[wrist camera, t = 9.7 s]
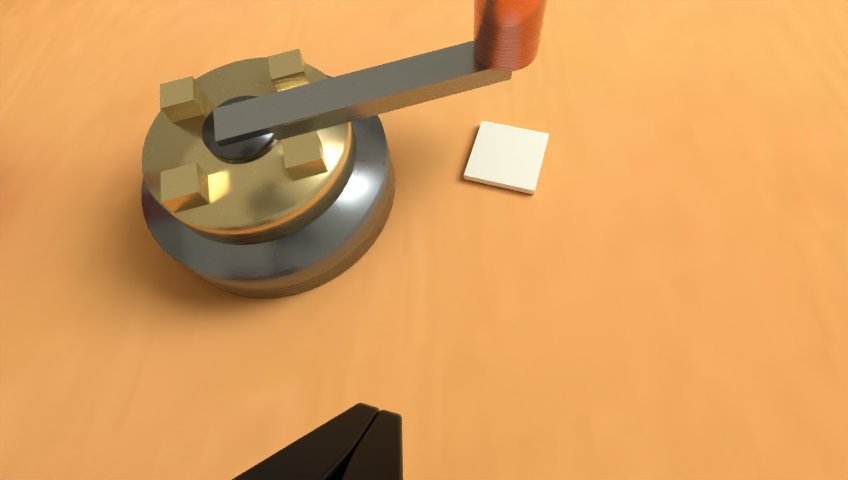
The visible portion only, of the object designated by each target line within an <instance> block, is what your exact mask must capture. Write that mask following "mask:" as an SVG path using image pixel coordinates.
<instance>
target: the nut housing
mask: <svg viewBox="0 0 848 480" xmlns="http://www.w3.org/2000/svg"><path fill="white" fill-rule="evenodd" d="M326 76H327V77H328V78H333V77H330V76H328V75H326ZM351 122H352V125H353V128H354V131H355V136H356V142H357V155H356V161H355V166H354V169H353V172H352V175H351V177H350V179H349V181H348V183H347V185H346V187H345V189H344V190H343V192H342V193H341V195H340V196H339V197H338V199H337V200H336V201H335V202H334V203H333V205H332V206H331V207H330V208H329V209H328V210H327V211H326V212H324V213H323V214H322V215H321V216H320V217H319V218H317V219H316V220H315V221H313V222H312V223H311V224H309V225H307V226H306V227H304V228H302V229H301V230H299V231H297V232H295V233H292V234H290V235H288V236H286V237H283V238H280V239H277V240H274V241H270V242H265V243H261V244H253V245H230V244H223V243H218V242H215V241H211V240H208V239H206V238H204V237H202V236H200V235H197V234H196V233H195V232H193V231H192V230H190V229H189V228H187V227H186V226H185V225H184V224H183V223H181V222H180V221H179V220H178V219H177V218H176V217H174V216H173V215H172V214H171V213H170V212H168V211H167V210H166V209H165V208H164V207H163V206H162V205H161V204H160V203H159V202H158V201H156V199H155V198H154V197H153V195H152V194H151V192H150V191H149V189H148V186H147V184H146V182H145V179H144V178H143V184H142V207H143V213H144V217H145V220H146V223H147V225H148V228H149V230H150V232H151V233H152V235H153V237H154V239H155V240H156V241H157V242H158V244H159V245H160V246H161V247H162V248H163V250H165V251H166V252H167V253H168V254H169V255H171V256H172V257H173V258H174V259H175V260H177V261H178V262H180V263H181V264H183V265H184V266H185V267H187V268H188V269H190V270H191V271H193V272H194V273H196V274H197V275H198V276H200V277H201V278H203V279H204V280H206V281H207V282H209V283H211V284H212V285H214V286H216V287H217V288H219V289H222V290H224V291H227V292H229V293H232V294H236V295H241V296H245V297H255V298H277V297H283V296H289V295H295V294H298V293H301V292H305V291H308V290H311V289H313V288H316V287H318V286H320V285H323V284H325V283H327V282H328V281H330V280H332V279H334V278H335V277H337V276H339V275H340V274H342V273H343V272H344V271H346V270H347V269H349V268H350V267H351V266H353V265H354V264H355V263H356V262H357V261H358V260H359V259H360V258H361V257H362V256H363V255H364V254H365V253H366V252H367V251H368V249H369V248H370V247H371V246H372V245H373V244H374V242H375V241H376V239H377V238H378V236H379V234H380V233H381V231H382V230H383V227H384V225H385V223H386V221H387V219H388V217H389V214H390V210H391V207H392V204H393V198H394V192H395V178H394V170H393V165H392V161H391V157H390V153H389V149H388V145H387V141H386V137H385V133H384V130H383V126H382V123H381V121H380V119H379V117H378V115H374V116H370V117H366V118H363V119H359V120H355V121H351Z"/></svg>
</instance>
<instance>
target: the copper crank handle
mask: <svg viewBox="0 0 848 480" xmlns="http://www.w3.org/2000/svg"><path fill="white" fill-rule="evenodd" d="M546 1H547V0H475V2H474V41H471V42H467V43H463V44H459V45H455V46H452V47H448V48H444V49H440V50H436V51H432V52H429V53H425V54H421V55H417V56H413V57H409V58H406V59H402V60H398V61H394V62H390V63H386V64H383V65H379V66H375V67H371V68H367V69H363V70H360V71H356V72H352V73H348V74H344V75H340V76H337V77H333V78H328V77H327V76H326V75H325V74H324V73H322V72H321V71H319V70H318V69H316V68H314V67H312V66H310V65H308V64H305V62H304V60H303V57H302V55H301V52H300V50H299V49H296V50H292V51H288V52H284V53H280V54H277V55H273V56H269V57H265V58H253V59H246V60H242V61H237V62H234V63H230V64H227V65H224V66H222V67H219V68H217V69H214V70H212V71H210V72H208V73H206V74H204V75H202V76H200V77H199V78H197V79H194V78H193V77H192V76H191V77H187V78H183V79H179V80H176V81H172V82H168V83H164V84H160V109H161V111H160V113H159V114H158V115H157V117H156V118H155V120H154V122H153V124H152V125H151V127H150V129H149V132H148V134H147V137H146V139H145V143H144V147H143V154H142V170H143V175H144V179H145V182H146V184H147V186H148V189H149V191H150V192H151V194H152V195H153V197H154V198H155V199H156V201H158V202H159V203H160V204H161V205H162V206H163V207H164V208H165V209H166V210H167V211H168V212H170V213H171V214H172V215H173V216H174V217H176V218H177V219H178V220H179V221H180V222H181V223H183V224H184V225H185V226H186V227H187V228H189V229H190V230H192V231H193V232H195V233H196V234H197V235H200V236H202V237H204V238H206V239H208V240H211V241H215V242H218V243H223V244H230V245H253V244H261V243H265V242H270V241H274V240H277V239H280V238H283V237H286V236H288V235H290V234H292V233H295V232H297V231H299V230H301V229H302V228H304V227H306V226H307V225H309V224H311V223H312V222H313V221H315V220H316V219H317V218H319V217H320V216H321V215H322V214H323V213H324V212H326V211H327V210H328V209H329V208H330V207H331V206H332V205H333V203H334V202H335V201H336V200H337V199H338V197H339V196H340V195H341V193H342V192H343V190H344V189H345V187H346V185H347V183H348V181H349V179H350V177H351V175H352V172H353V169H354V166H355V161H356V155H357V142H356V136H355V131H354V128H353V125H352V122H351V121H355V120H359V119H363V118H366V117H370V116H374V115H378V114H381V113H385V112H389V111H393V110H396V109H400V108H404V107H408V106H411V105H415V104H419V103H423V102H427V101H430V100H434V99H438V98H442V97H445V96H449V95H453V94H457V93H460V92H464V91H468V90H472V89H475V88H479V87H483V86H487V85H490V84H494V83H498V82H502V81H506V80H509V79H511V74H512V71H516V70H519V69H522V68H524V67H526V66H528V65H529V64H530V63H531V62H532V61H533V60H534V59H535V57H536V55H537V52H538V47H539V41H540V35H541V30H542V24H543V18H544V13H545V7H546Z"/></svg>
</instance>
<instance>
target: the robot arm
mask: <svg viewBox="0 0 848 480" xmlns="http://www.w3.org/2000/svg"><path fill="white" fill-rule="evenodd" d="M232 480H403V455H402V417H401V415H399V414H397V413H393V412H390V411H387V410H381V411H380V410H379V409H378V408H377V407H374V406H370V405H367V404H364V403H359V404H356V405H355V406H353V407H351V408H350V409H348V410H346V411H345V412H343V413H341V414H340V415H338V416H336V417H335V418H333V419H331V420H330V421H328V422H326V423H325V424H323V425H321V426H320V427H318V428H316V429H315V430H313V431H312V432H310V433H308V434H307V435H305V436H303V437H302V438H300V439H298V440H297V441H295V442H293V443H292V444H290V445H288V446H287V447H285V448H283V449H282V450H280V451H278V452H277V453H275V454H273V455H272V456H270V457H268V458H267V459H265V460H264V461H262V462H260V463H259V464H257V465H255V466H254V467H252V468H250V469H249V470H247V471H245V472H244V473H242V474H240V475H239V476H237V477H235V478H234V479H232Z"/></svg>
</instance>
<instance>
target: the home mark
mask: <svg viewBox="0 0 848 480" xmlns="http://www.w3.org/2000/svg"><path fill="white" fill-rule="evenodd" d="M548 137H549V134H548V133H543V132H538V131H533V130H527V129H522V128H517V127H512V126H507V125H502V124H496V123H491V122H486V121H482V122H481V125H480V128H479V131H478V134H477V137H476V140H475V143H474V146H473V149H472V152H471V155H470V158H469V161H468V164H467V167H466V170H465V173H464V179H466V180H470V181H475V182H479V183H484V184H488V185H493V186H497V187H502V188H506V189H511V190H515V191H520V192H524V193H529V194H533V195H534V192H535V188H536V184H537V180H538V176H539V172H540V168H541V164H542V160H543V156H544V153H545V149H546V145H547V141H548Z"/></svg>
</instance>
